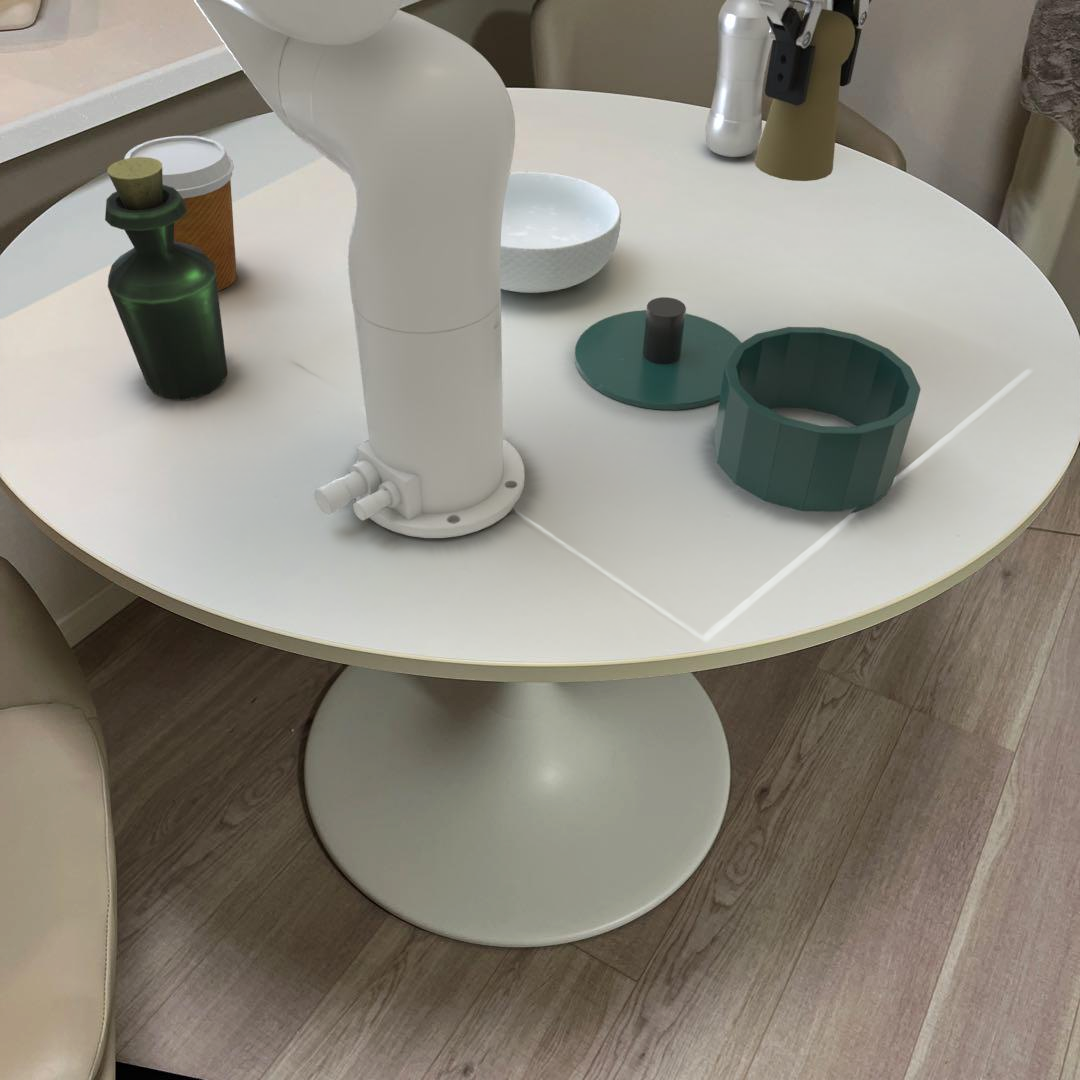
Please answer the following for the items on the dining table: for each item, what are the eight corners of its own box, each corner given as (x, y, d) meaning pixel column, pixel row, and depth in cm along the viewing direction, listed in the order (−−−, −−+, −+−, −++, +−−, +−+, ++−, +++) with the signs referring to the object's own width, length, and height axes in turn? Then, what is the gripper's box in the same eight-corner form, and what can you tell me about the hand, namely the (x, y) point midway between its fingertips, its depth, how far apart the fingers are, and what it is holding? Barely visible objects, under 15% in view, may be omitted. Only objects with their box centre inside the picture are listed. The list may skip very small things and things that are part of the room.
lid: (671, 439, 82) (678, 377, 79) (538, 364, 90) (539, 305, 86) (781, 367, 90) (793, 308, 86) (651, 304, 98) (656, 247, 94)
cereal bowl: (653, 284, 101) (659, 213, 96) (515, 340, 93) (515, 267, 88) (541, 220, 110) (542, 154, 106) (408, 267, 103) (403, 197, 98)
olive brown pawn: (833, 184, 79) (867, 28, 72) (753, 176, 80) (778, 21, 73) (832, 154, 84) (863, 4, 77) (755, 146, 85) (779, -3, 77)
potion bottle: (249, 392, 86) (205, 179, 74) (148, 417, 84) (85, 200, 72) (224, 344, 92) (179, 138, 80) (128, 366, 89) (67, 156, 77)
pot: (827, 543, 74) (850, 458, 69) (677, 457, 81) (688, 374, 76) (927, 460, 81) (955, 377, 76) (781, 387, 88) (797, 308, 83)
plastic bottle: (719, 167, 121) (744, -25, 108) (692, 145, 126) (713, -41, 112) (768, 159, 123) (799, -30, 109) (740, 138, 127) (765, -46, 114)
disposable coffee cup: (268, 287, 99) (246, 162, 91) (168, 313, 95) (136, 185, 87) (234, 247, 105) (210, 126, 97) (138, 270, 101) (105, 146, 93)
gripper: (881, -224, 73) (827, 53, 85) (733, -204, 63) (696, 104, 75) (982, -211, 69) (910, 77, 81) (841, -188, 60) (783, 134, 72)
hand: (807, 87), depth 78 cm, fingers closed on olive brown pawn, 5 cm apart
